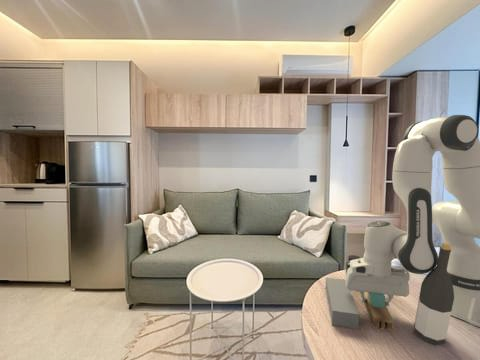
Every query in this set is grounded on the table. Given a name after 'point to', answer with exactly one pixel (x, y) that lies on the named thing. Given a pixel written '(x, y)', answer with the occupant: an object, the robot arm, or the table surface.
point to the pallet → (378, 315)
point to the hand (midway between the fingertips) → (375, 303)
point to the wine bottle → (435, 301)
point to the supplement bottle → (351, 257)
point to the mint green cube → (377, 299)
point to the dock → (341, 304)
